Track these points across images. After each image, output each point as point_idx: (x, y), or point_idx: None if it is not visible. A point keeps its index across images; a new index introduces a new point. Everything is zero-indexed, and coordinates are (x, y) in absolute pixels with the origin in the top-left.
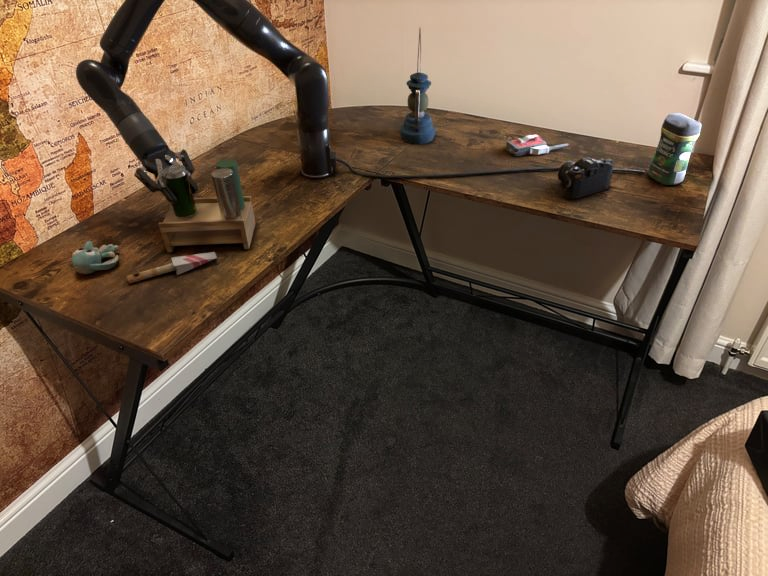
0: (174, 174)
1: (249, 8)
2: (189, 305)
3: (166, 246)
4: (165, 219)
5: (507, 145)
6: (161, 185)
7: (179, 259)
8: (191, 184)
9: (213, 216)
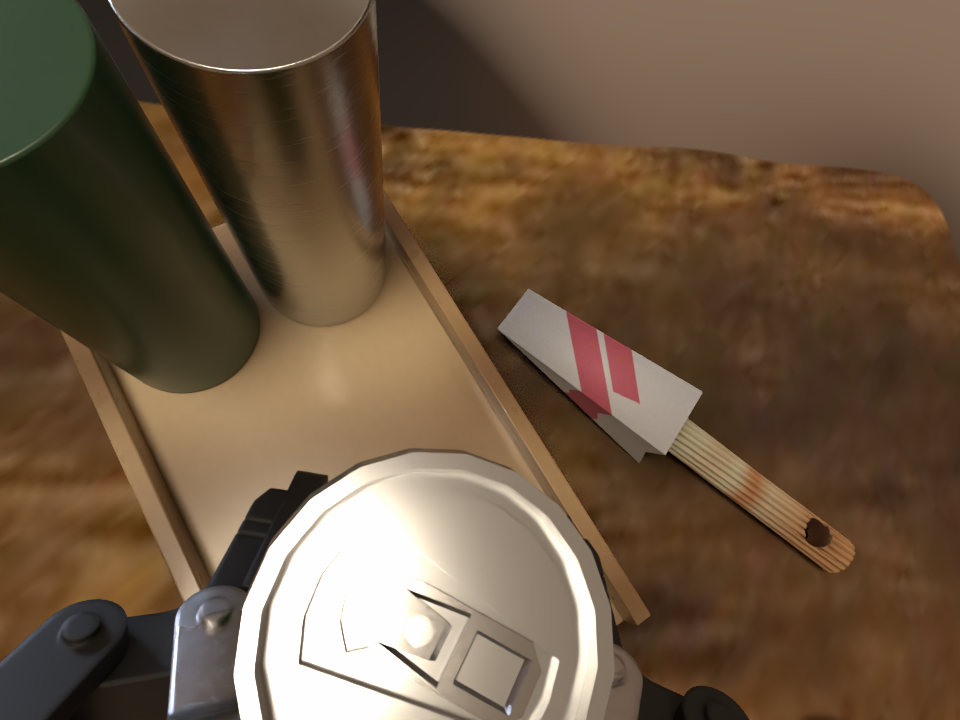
0: (551, 502)
1: None
2: (761, 238)
3: None
4: None
5: None
6: (637, 679)
7: (649, 410)
8: None
9: (356, 383)
